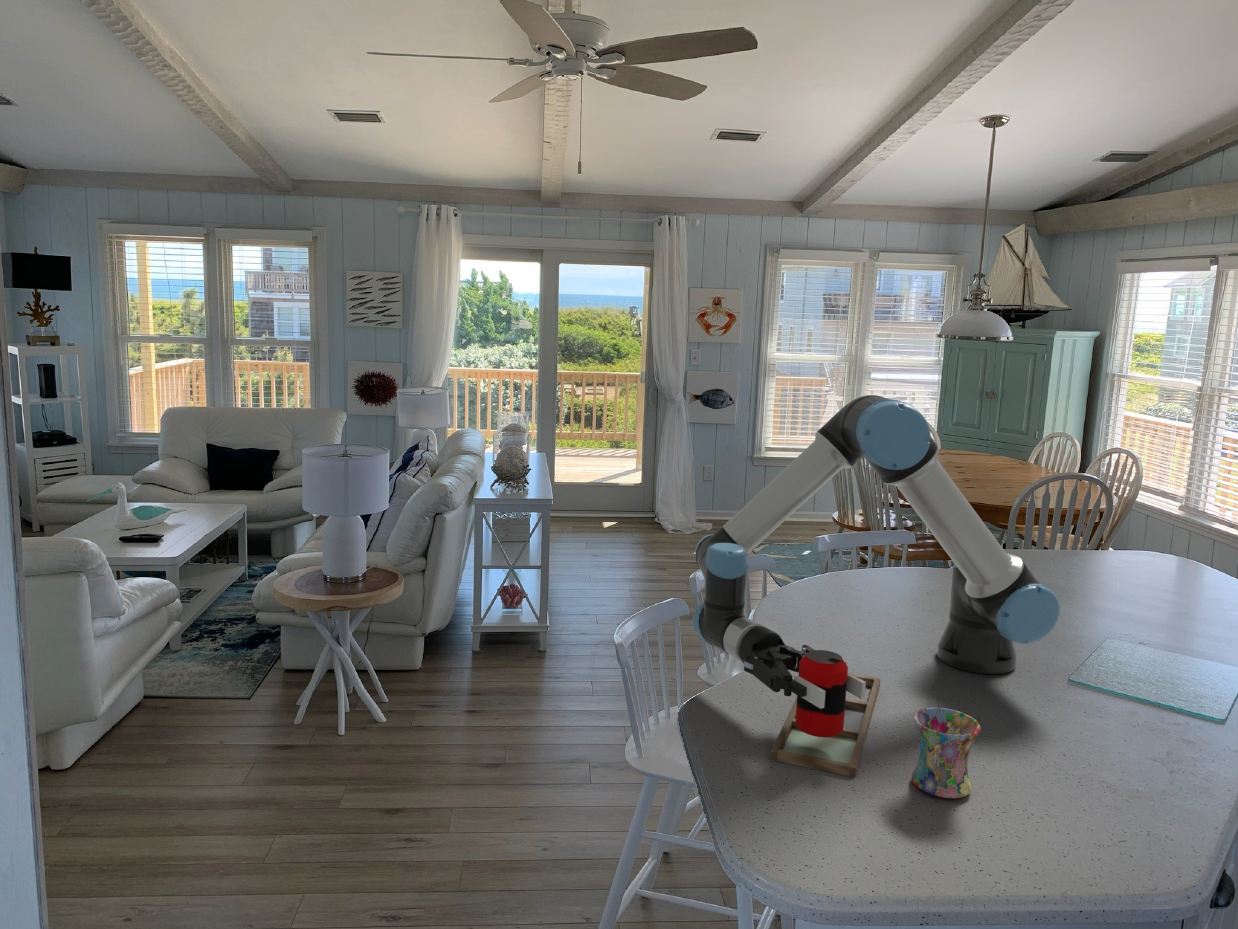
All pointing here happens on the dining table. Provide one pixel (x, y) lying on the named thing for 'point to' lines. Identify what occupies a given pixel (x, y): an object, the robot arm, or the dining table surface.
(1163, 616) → the dining table surface
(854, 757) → the frame
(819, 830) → the dining table surface
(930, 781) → the mug
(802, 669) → the soda can
